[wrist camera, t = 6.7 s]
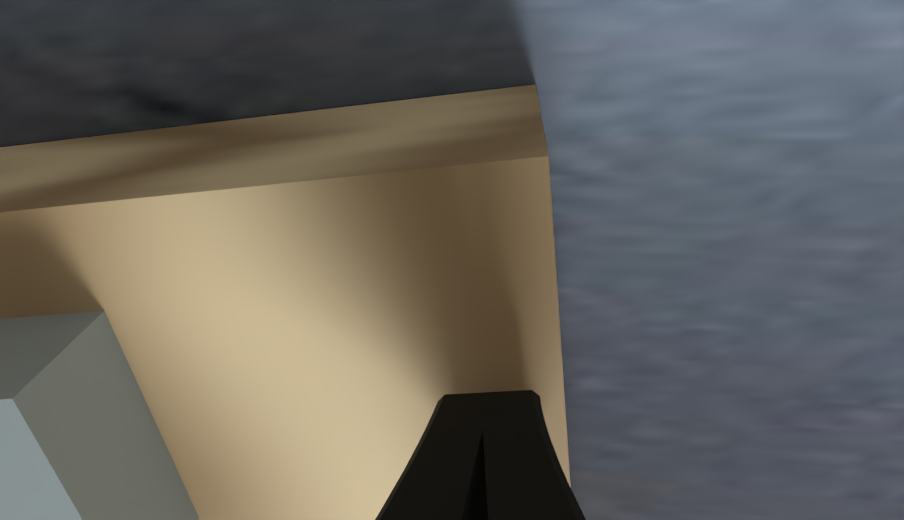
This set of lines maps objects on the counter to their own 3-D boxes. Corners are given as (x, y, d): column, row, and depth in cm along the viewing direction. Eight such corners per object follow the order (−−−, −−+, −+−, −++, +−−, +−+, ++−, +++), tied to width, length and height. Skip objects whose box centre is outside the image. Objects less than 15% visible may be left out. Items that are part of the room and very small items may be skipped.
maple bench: (535, 84, 11) (548, 155, 8) (570, 561, 17) (586, 725, 14) (-138, 163, 13) (-374, 250, 10) (102, 570, 19) (11, 716, 16)
